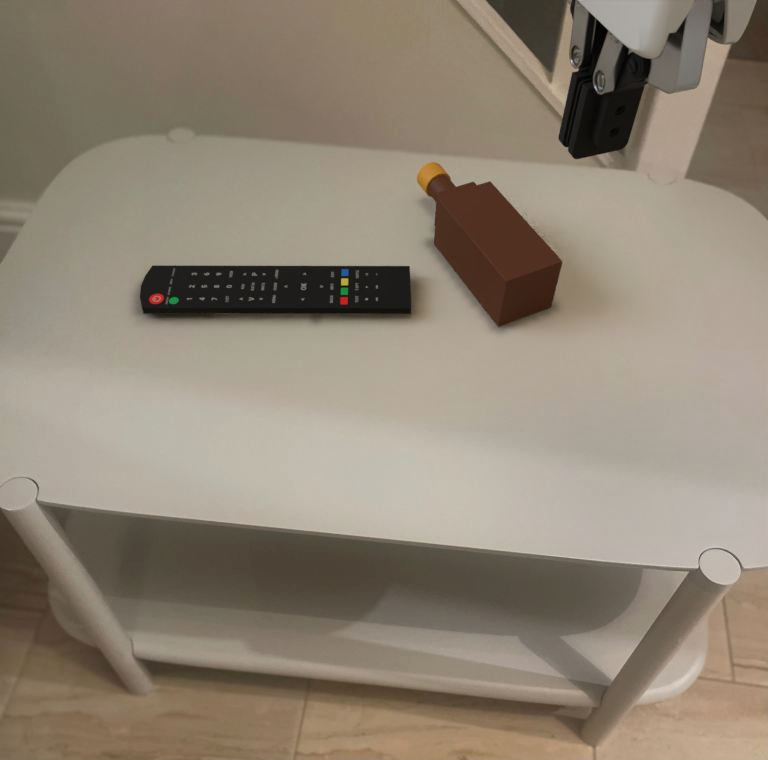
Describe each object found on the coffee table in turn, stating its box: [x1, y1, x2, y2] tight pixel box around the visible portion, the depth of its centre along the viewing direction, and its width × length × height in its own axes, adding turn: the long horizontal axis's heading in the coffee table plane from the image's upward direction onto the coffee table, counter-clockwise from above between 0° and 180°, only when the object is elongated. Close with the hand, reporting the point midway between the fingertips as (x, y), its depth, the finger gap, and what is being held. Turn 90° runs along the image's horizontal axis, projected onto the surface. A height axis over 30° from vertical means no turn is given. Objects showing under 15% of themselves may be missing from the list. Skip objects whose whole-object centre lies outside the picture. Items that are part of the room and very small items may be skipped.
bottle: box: [416, 161, 564, 328], centre depth 73 cm, size 6×6×18 cm
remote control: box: [139, 265, 412, 315], centre depth 71 cm, size 5×24×1 cm, turn 91°
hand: (591, 145), depth 41 cm, fingers closed
